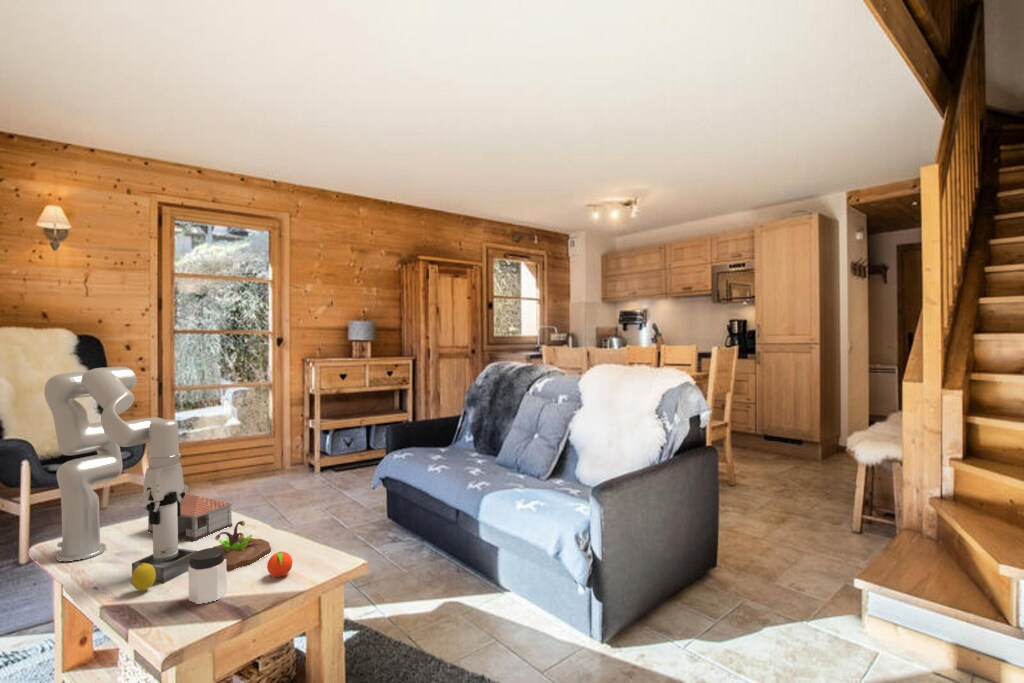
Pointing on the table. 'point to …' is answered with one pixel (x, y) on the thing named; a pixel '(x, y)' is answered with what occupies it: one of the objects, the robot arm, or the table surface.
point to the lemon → (143, 577)
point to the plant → (242, 549)
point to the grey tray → (168, 565)
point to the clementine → (279, 564)
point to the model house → (201, 517)
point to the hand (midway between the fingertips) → (165, 519)
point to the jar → (207, 575)
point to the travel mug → (166, 530)
